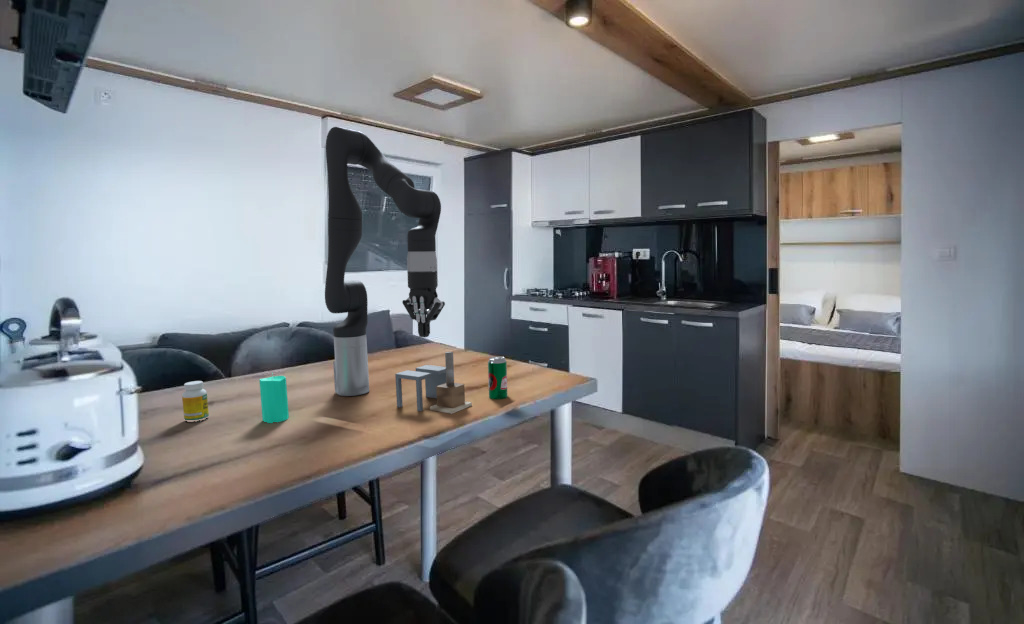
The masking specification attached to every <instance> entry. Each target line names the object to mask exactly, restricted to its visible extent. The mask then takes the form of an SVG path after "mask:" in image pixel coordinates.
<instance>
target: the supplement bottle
mask: <svg viewBox="0 0 1024 624" xmlns="http://www.w3.org/2000/svg"><path fill="white" fill-rule="evenodd" d="M183 386H184V391H183V392H182V394H181V399H182V400H181V401H182V409H183V410H182V411H183V419H185V420H199V419H203V418H206V417H208V416H209V417H210V412H209V402H208V392H207V390H206V389H204V382H203V381H202V380H194V381H188V382H185V383H184V384H183Z"/></svg>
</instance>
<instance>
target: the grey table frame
mask: <svg viewBox="0 0 1024 624" xmlns="http://www.w3.org/2000/svg"><path fill="white" fill-rule="evenodd" d="M394 376H395V377H394V378H395V391H396V393H395V394H396V408H403V405H404V404H403V389H402V387H403V385H402V384H403V383H402V379H403V380H409V381H410V380H411V381H415V391H416V412H417V411H418V412H422V411H424V407H423V406H424V402H423V401H424V399H423V380H424V383H425V386H424V387H425V397H426V398H433V399H437V391H436V386H439V385H442V384H445V383H446V366H442V365H441V366H439V365H433V364H432V365H431V364H424V365H421V366H417V367H415V370H409V369H407V370H402V371H400V372H396V373H395V374H394Z"/></svg>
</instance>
